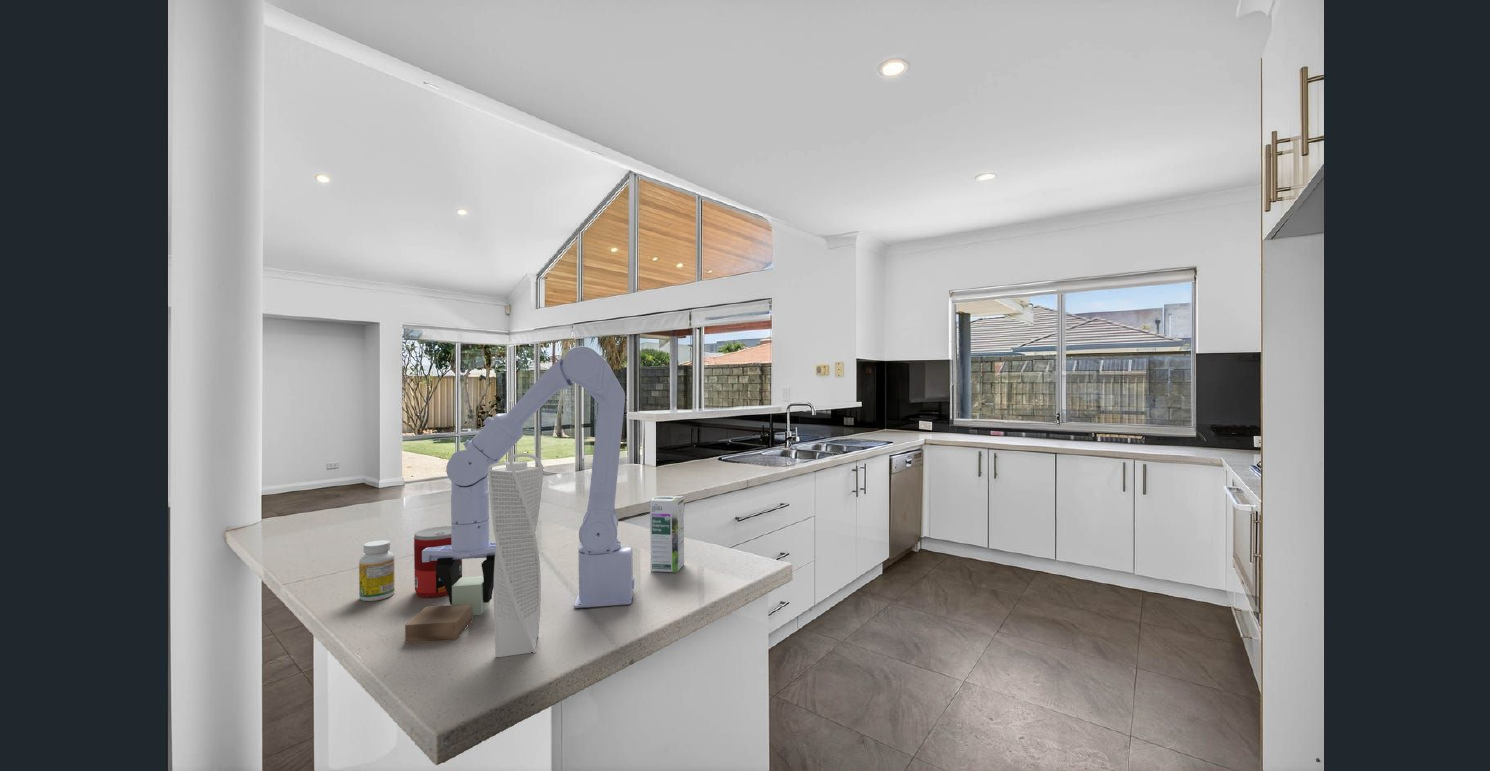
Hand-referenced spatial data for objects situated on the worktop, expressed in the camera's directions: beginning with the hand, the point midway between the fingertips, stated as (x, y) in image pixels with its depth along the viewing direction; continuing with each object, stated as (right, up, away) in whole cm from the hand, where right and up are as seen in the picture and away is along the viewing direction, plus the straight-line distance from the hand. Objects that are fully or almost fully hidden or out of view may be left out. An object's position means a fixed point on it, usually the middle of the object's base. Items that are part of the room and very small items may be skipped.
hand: (471, 601), depth 95 cm
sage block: (0, -2, 0) cm, 2 cm away
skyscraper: (+13, -1, -14) cm, 19 cm away
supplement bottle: (-20, -2, +7) cm, 22 cm away
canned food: (-11, -2, +10) cm, 14 cm away
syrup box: (+30, -1, +21) cm, 37 cm away
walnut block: (-1, -2, -8) cm, 8 cm away
